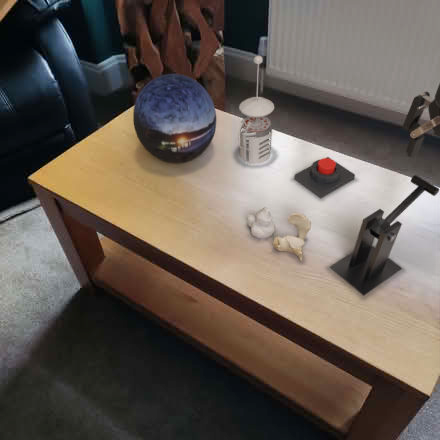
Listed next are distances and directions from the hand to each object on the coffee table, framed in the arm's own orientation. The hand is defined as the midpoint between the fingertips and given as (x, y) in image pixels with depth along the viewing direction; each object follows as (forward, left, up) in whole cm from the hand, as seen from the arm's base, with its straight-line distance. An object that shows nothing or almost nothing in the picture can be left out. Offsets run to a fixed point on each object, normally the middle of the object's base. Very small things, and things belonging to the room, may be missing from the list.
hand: (432, 167), depth 74 cm
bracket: (+10, +3, -20) cm, 23 cm away
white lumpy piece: (+25, -15, -21) cm, 36 cm away
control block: (+4, -25, -20) cm, 33 cm away
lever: (+5, +1, -7) cm, 9 cm away
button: (+4, -25, -17) cm, 30 cm away
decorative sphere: (+33, -49, -21) cm, 63 cm away
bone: (+21, -7, -21) cm, 30 cm away
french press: (+16, -40, -21) cm, 48 cm away
